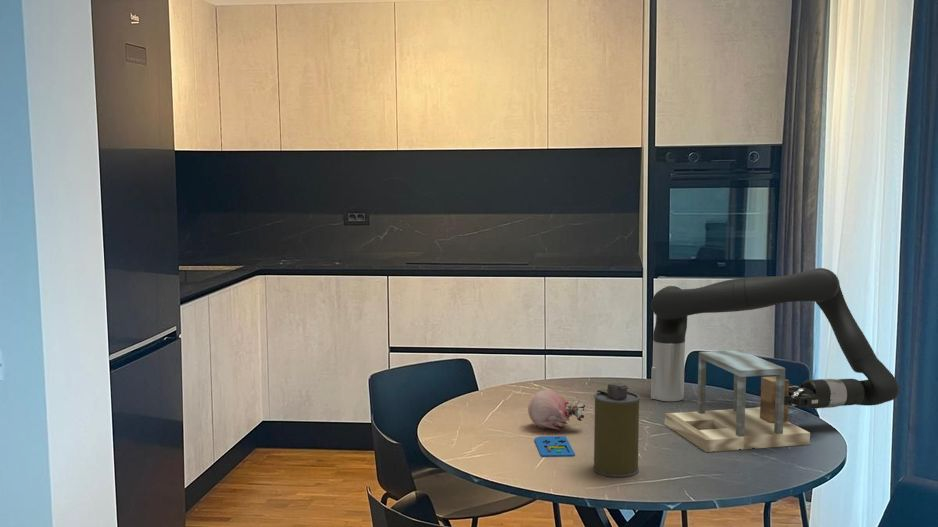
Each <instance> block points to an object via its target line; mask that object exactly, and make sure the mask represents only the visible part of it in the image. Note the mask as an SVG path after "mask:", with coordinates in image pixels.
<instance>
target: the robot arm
mask: <svg viewBox="0 0 938 527" xmlns="http://www.w3.org/2000/svg"><path fill="white" fill-rule="evenodd" d="M840 284H841V283H840V280H839V278H838V276H837V275H836V273H835V272H833V271H832V270H830V269H827V268H823V267H818V268H813V269H810V270H806V271H801V272H797V273H793V274H789V275H781V276H776V275H775V276H774V275H773V276H749V277H739V278H733V279H728V280H723V281H718V282H715V283H712V284H709V285H705V286H701V287H695V288H685V289H683V288H681V287H678V286H675V285H668V286H665V287H663V288H661V289H660V290H658V291H657V292H656V293H654V295H653V297H652V299H651V302H650V308H651V310H652V311H651V312H653V314H654V315H656V316H655V326H654V329H653V332H652V335H653V336H652V366H651V375H650V376H651V377H650V378H651V379H650V382H651V385H650V386H651V387H650V399H652V400H657V401H662V402H679V401H682V400H684V398H685V397H684V393H685V359H686V358H685V357H686V356H685V355H686V353H685V352H686V334H687V329H688V316H692V315H698V314H708V313H709V314H710V313H712V314H714V313H715V314H716V313H730V312H731V313H733V312H743V311H753V310H759V309H763V308H768V307H771V306H776V305H778V304H779V305H780V304H783V303H791V302H792V303H793V302H794V303H795V302H815V303H816V304H817V306H818V307H819V308H820V310H821V311H822V313H823V314H824V316H825V317H826V319H827V320H828V322H829V325H830V327H831V330H832V331H833V335H834V336H835V338H836V341H837V343H838V345H839V347H840V349H841V352H842V353H843V355H844V357H845V359H846V360H847V363H848V364H849V366H850V368H851V370H852V371H853V372H854V373H858V374H863V375H864V376H865V377H866V378H867V379H862V380H858V379H855V378H824V379H823V378H822V379H821V378H820V379H817V378H816V379H806V380H805V381H803V383H802V384H801V386H798V385H792V384H791V383H789V396H784V405H788V406H792V407H796V408H798V409H799V408H807V409H810V410H812V409H813V410H815V409H828V408H837V407H845V406H855V405H856V406H878V405H881V404H885V403H888V402H890V401H894V400H895V399H896V398H897V397H898V395H899V392H900V388H899V387H900V386H899V384H898V381H897V379H896V377H895V376H894V374H892V372H891V371H890V370H889V369H888V368H887V366H885V365H884V363H883V362H881V360H880V359H879V358H878V357H877V356H876V353H875V351H874V349H873V348H872V346H871V344H870V342H869V340H868V339H867V337H866V335H865V334H864V332H863V331H862V329H861V328H860V326H859V325H858V323H857V321H856V319H855V318H854V316H853V314H852V312H851V310H850V309H849V306H848V304H847V302H846V300H845V296H844V294H843V291H842V288H841V285H840ZM758 397H760V398H761V387H760V388H759V389H758Z"/></svg>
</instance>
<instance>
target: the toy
mask: <svg viewBox="0 0 938 527" xmlns="http://www.w3.org/2000/svg"><path fill="white" fill-rule="evenodd" d="M577 404H578V405H577ZM585 407H586V405H585V404H583V403H582V402H580V400H575V401H574V402H572V401H569V400H567V399H565V398H564V397H563V396H562V395H560V394H559V393H557V392H556V391H554V390H550V389H545V390H544V389H543V390H539V391H537V392H536V393H535V394H534V395H533V397H532V399H531V400H530V402H529V404H528V406H527V408H528V409H527V413H528V416H529V419H530V420H531V422H532V423H533V424H534V425H536V426H537V427H539V428H542V429H548V428H549V429H551V430H553V431H555V430H557V431H559V432H561V429H559V428H558V427H564V426H565V425H566V426H569V423H568V422H570V419H569V418H570V417H572V416H575V417H576V419H577V421H579V422H581V421H582V419H583V418H585V415H584V414H583V412H584V411H585ZM567 421H568V422H567Z"/></svg>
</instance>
